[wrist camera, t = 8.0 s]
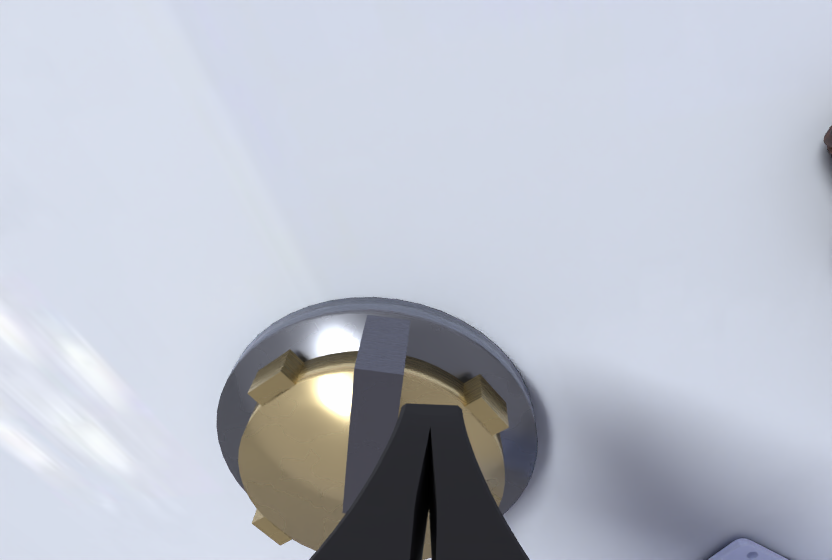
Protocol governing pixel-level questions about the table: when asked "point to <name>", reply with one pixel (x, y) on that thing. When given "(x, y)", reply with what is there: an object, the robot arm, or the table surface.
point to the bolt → (828, 140)
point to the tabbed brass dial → (348, 429)
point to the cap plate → (428, 341)
